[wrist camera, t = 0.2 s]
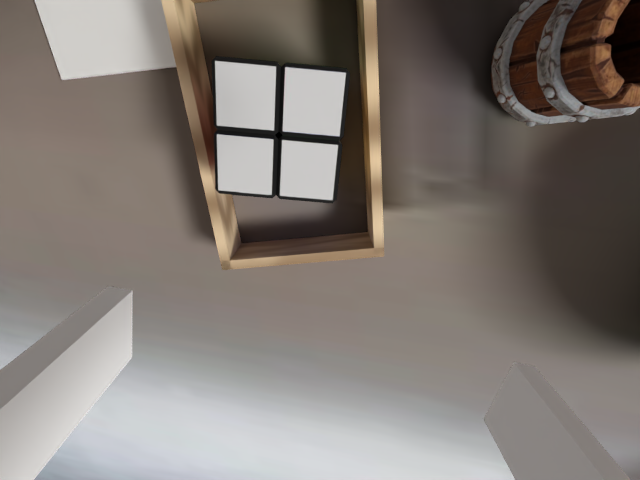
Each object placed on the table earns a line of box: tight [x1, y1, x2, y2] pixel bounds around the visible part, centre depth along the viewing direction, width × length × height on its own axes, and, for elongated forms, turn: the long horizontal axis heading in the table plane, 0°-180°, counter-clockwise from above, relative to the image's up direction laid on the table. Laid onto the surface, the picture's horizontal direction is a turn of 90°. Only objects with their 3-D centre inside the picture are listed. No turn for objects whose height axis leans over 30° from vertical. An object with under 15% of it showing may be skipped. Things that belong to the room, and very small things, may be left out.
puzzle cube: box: [212, 56, 350, 203], centre depth 29 cm, size 10×10×10 cm
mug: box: [491, 0, 640, 127], centre depth 25 cm, size 12×14×15 cm
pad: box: [35, 0, 176, 80], centre depth 30 cm, size 12×12×1 cm
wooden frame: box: [161, 0, 384, 270], centre depth 32 cm, size 26×17×5 cm, turn 6°
